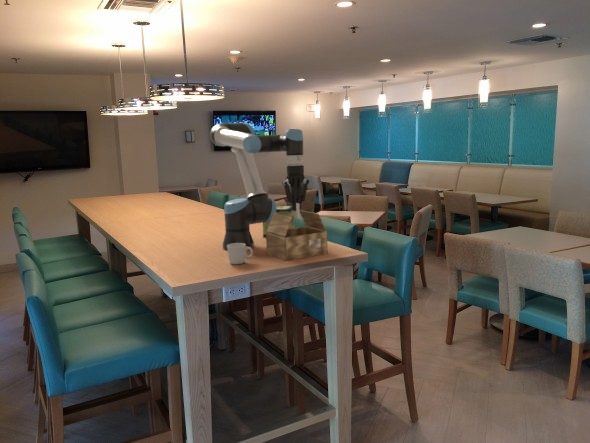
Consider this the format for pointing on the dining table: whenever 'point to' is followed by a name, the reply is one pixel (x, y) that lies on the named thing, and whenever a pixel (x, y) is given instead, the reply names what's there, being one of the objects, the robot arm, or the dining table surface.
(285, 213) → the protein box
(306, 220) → the flap right
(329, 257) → the dining table surface
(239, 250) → the cup
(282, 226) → the flap left
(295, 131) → the robot arm
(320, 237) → the carton
